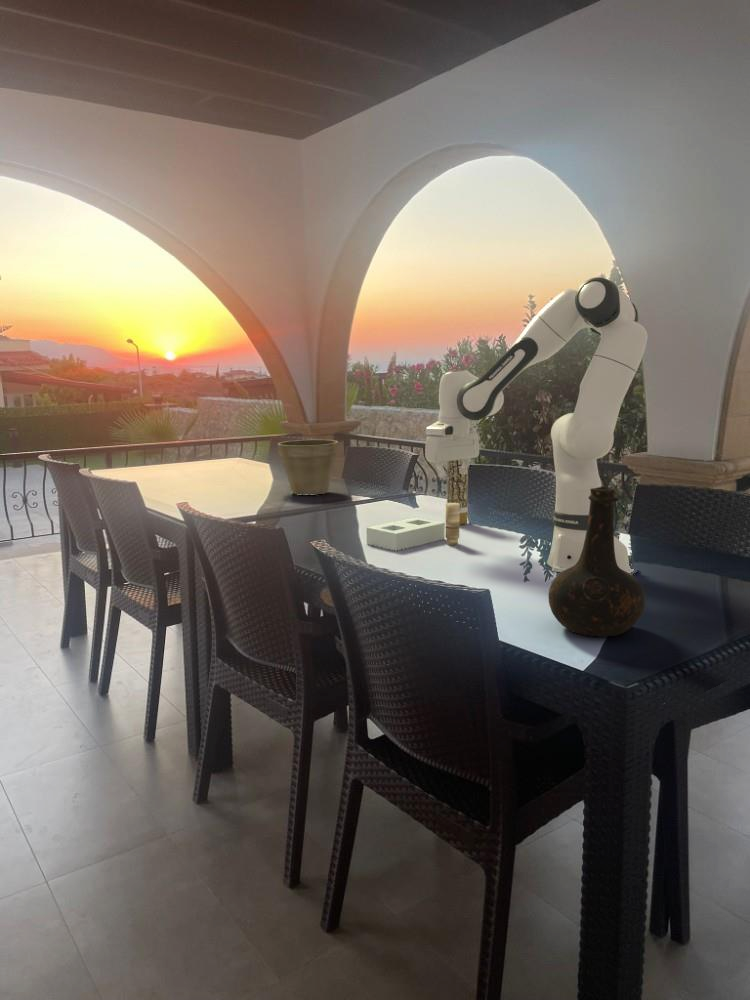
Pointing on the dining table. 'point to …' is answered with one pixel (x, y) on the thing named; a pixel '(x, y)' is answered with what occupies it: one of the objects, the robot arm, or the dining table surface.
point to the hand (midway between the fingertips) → (452, 475)
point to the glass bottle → (597, 580)
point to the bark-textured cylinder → (457, 488)
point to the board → (405, 533)
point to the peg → (452, 523)
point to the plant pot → (308, 464)
